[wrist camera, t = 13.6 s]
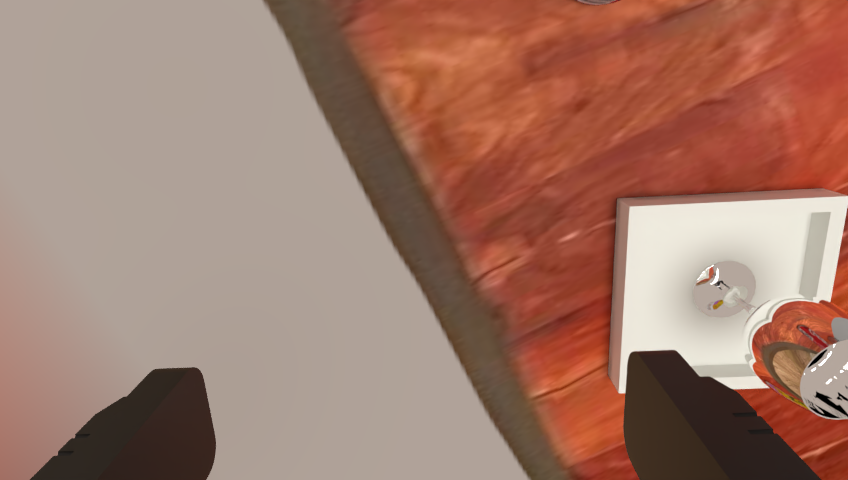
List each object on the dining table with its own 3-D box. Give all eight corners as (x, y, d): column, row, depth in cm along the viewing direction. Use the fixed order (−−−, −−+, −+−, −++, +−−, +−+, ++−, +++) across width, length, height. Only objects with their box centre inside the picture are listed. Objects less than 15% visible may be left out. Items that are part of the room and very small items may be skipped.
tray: (617, 198, 37) (629, 206, 35) (822, 188, 37) (849, 196, 34) (608, 375, 41) (618, 393, 39) (792, 368, 41) (814, 386, 39)
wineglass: (761, 242, 37) (907, 316, 26) (768, 315, 39) (908, 416, 27) (678, 262, 38) (784, 343, 26) (688, 333, 39) (792, 439, 28)
